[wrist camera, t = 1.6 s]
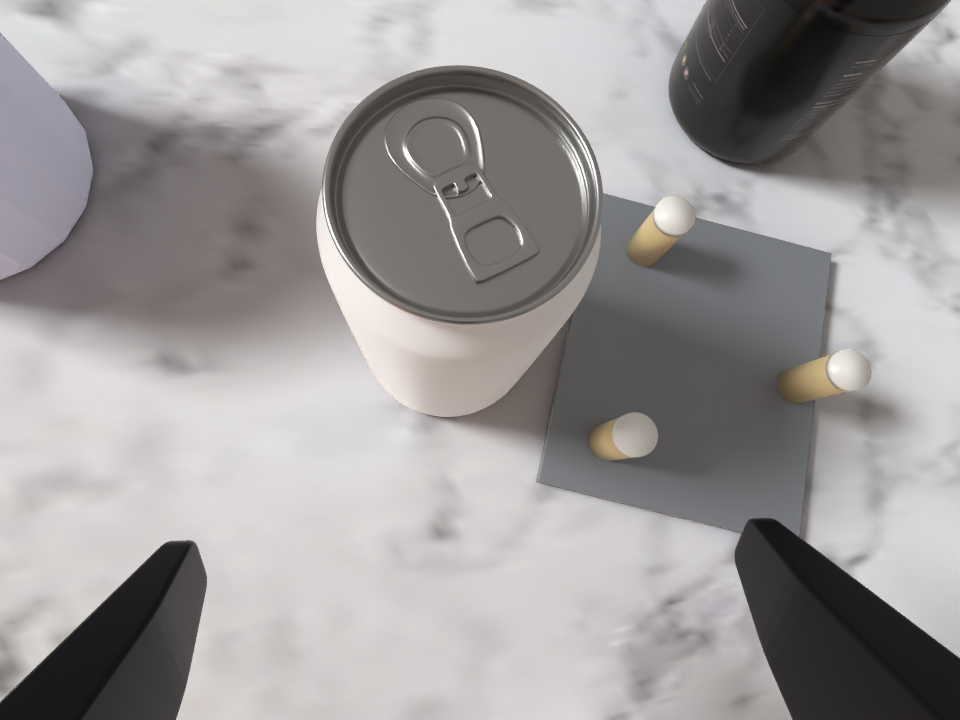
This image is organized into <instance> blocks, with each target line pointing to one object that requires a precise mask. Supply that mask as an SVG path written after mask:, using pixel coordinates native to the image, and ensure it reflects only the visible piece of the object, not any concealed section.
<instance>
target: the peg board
mask: <svg viewBox="0 0 960 720" xmlns="http://www.w3.org/2000/svg"><path fill="white" fill-rule="evenodd" d="M830 262H831V253H828V252H824V251H820V250H816V249H813V248H809V247H805V246H801V245H797V244H794V243H790V242H786V241H782V240H778V239H775V238H771V237H767V236H763V235H759V234H756V233H752V232H748V231H744V230H740V229H737V228H733V227H729V226H725V225H721V224H718V223H714V222H710V221H706V220H702V219H699V218H696V214H695V210H694V208H693V206H692V205H691V203H690V202H689V201H688V200H686V199H685V198H683V197H680V196H675V195H673V196H667V197H665V198H663V199H662V200H661V201H660V202H659V203H658V204H657V206H656V207H653V206H649V205H645V204H642V203H638V202H634V201H630V200H626V199H623V198H619V197H615V196H611V195H607V194H604V193H603V211H602V219H601V241H600V250H599V256H598V260H597V264H596V268H595V271H594V274H593V276H592V279H591V281H590V284H589V286H588V288H587V290H586V292H585V294H584V296H583V298H582V299H581V301H580V303H579V304H578V306H577V307H576V309H575V310H574V312H573V313H572V316H571V321H570V326H569V330H568V335H567V340H566V344H565V349H564V354H563V358H562V363H561V368H560V372H559V377H558V382H557V386H556V391H555V396H554V400H553V405H552V410H551V415H550V419H549V424H548V429H547V433H546V438H545V443H544V447H543V452H542V457H541V461H540V466H539V471H538V475H537V480H536V482H539V483H543V484H547V485H551V486H555V487H559V488H563V489H567V490H571V491H575V492H579V493H583V494H587V495H591V496H595V497H600V498H604V499H608V500H612V501H616V502H620V503H624V504H628V505H632V506H636V507H640V508H644V509H648V510H652V511H656V512H660V513H664V514H668V515H672V516H676V517H680V518H684V519H688V520H693V521H697V522H701V523H705V524H709V525H713V526H717V527H721V528H725V529H729V530H733V531H737V532H741V533H742V531H743V529H744V526H745V524H746V522H747V521H748V520H750V519H752V518H773V519H775V520H777V521H779V522H780V523H782V524H783V525H784V526H786V527H787V528H788V529H789V530H791V531H792V532H793V533H795V534H796V535H797V536H800V528H801V519H802V510H803V501H804V492H805V483H806V474H807V466H808V457H809V448H810V439H811V430H812V421H813V412H814V404H815V399H819V398H824V397H828V396H832V395H836V394H841V393H845V392H852V391H856V390H860V389H862V388H864V387H865V386H867V384H868V383H869V381H870V379H871V367H870V364H869V362H868V360H867V359H866V358H865V356H864V355H862V354H861V353H860V352H858V351H856V350H852V349H844V350H841V351H838V352H835V353H833V354H831V355H828V356H825V357H822V358H820V351H821V342H822V333H823V324H824V315H825V306H826V297H827V289H828V280H829V271H830Z"/></svg>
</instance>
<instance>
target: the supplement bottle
mask: <svg viewBox="0 0 960 720" xmlns="http://www.w3.org/2000/svg"><path fill="white" fill-rule="evenodd" d="M950 1H951V0H707V1H706V3H705V4H704V6H703V8H702V10H701V12H700V14H699V15H698V17H697V19H696V21H695V23H694V25H693V26H692V28H691V30H690V32H689V34H688V36H687V37H686V39H685V41H684V43H683V45H682V47H681V49H680V51H679V53H678V55H677V57H676V59H675V61H674V64H673V66H672V69H671V73H670V78H669V97H670V103H671V106H672V110H673V112H674V115H675V117H676V119H677V121H678V123H679V124H680V126H681V128H682V129H683V130H684V132H685V133H686V134H687V135H688V136H689V137H690V139H691V140H693V141H694V142H695V143H696V144H697V145H698V146H700V147H701V148H702V149H704V150H705V151H707V152H709V153H710V154H712V155H714V156H717V157H719V158H721V159H724V160H727V161H731V162H736V163H743V164H759V163H766V162H771V161H774V160H777V159H780V158H782V157H784V156H787V155H788V154H790V153H792V152H793V151H795V150H796V149H797V148H799V147H800V146H801V145H802V144H803V143H804V142H806V141H807V140H808V139H809V138H810V137H811V136H812V135H813V134H814V133H815V132H816V131H817V130H819V129H820V128H821V127H822V126H823V125H824V124H825V123H826V122H827V121H828V120H829V119H830V118H831V117H832V116H833V115H834V114H835V113H836V112H837V111H838V110H839V109H840V108H841V107H842V106H844V105H845V104H846V103H847V102H848V101H849V100H850V99H851V98H852V97H853V96H854V95H855V94H856V93H857V92H858V91H859V90H860V89H861V88H862V87H863V86H864V85H865V84H866V83H867V82H869V81H870V80H871V79H872V78H873V77H874V76H875V75H876V74H877V73H878V72H879V71H880V70H881V69H882V68H883V67H884V66H885V65H886V64H887V63H888V62H889V61H890V60H891V59H892V58H893V57H895V56H896V55H897V54H898V53H899V52H900V51H901V50H902V49H903V48H904V47H905V46H906V45H907V44H908V43H909V42H910V41H911V40H912V39H913V38H914V37H915V36H916V35H917V34H918V33H920V32H921V31H922V30H923V29H924V28H925V27H926V26H927V25H928V24H929V23H930V22H931V21H932V20H933V19H934V18H935V17H936V16H937V15H938V14H939V13H940V12H941V11H942V10H943V9H944V8H945V7H946V6H947V5H948V4H949V2H950Z"/></svg>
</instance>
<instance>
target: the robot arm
mask: <svg viewBox="0 0 960 720" xmlns="http://www.w3.org/2000/svg"><path fill="white" fill-rule="evenodd" d="M735 564H736V567H737V570H738V574H739V577H740V580H741V583H742V586H743V589H744V592H745V596H746V599H747V602H748V605H749V608H750V611H751V615H752V618H753V621H754V624H755V627H756V630H757V633H758V637H759V640H760V642H761V645H762V648H763V651H764V654H765V656H766V658H767V661H768V663H769V666H770V668H771V671H772V673H773V675H774V677H775V680H776V682H777V684H778V687H779V689H780V691H781V694H782V696H783V698H784V701H785V703H786V705H787V708H788V710H789V712H790V714H791V717H792V719H793V720H960V658H959V657H957V656H956V655H955V654H953V653H952V652H951V651H950V650H948V649H947V648H946V647H944V646H943V645H942V644H940V643H939V642H938V641H936V640H935V639H934V638H932V637H931V636H930V635H928V634H927V633H926V632H924V631H923V630H922V629H920V628H919V627H918V626H916V625H915V624H914V623H912V622H911V621H910V620H909V619H907V618H906V617H905V616H903V615H902V614H901V613H899V612H898V611H897V610H895V609H894V608H893V607H891V606H890V605H889V604H887V603H886V602H885V601H883V600H882V599H881V598H879V597H878V596H877V595H875V594H874V593H873V592H871V591H870V590H869V589H868V588H866V587H865V586H864V585H862V584H861V583H860V582H858V581H857V580H856V579H854V578H853V577H852V576H850V575H849V574H848V573H846V572H845V571H844V570H842V569H841V568H840V567H838V566H837V565H836V564H834V563H833V562H832V561H830V560H829V559H828V558H827V557H825V556H824V555H823V554H821V553H820V552H819V551H817V550H816V549H815V548H813V547H812V546H811V545H809V544H808V543H807V542H805V541H804V540H803V539H801V538H800V537H799V536H797V535H796V534H795V533H793V532H792V531H791V530H789V529H788V528H787V527H786V526H784V525H783V524H782V523H780V522H779V521H777V520H775V519H773V518H752V519H750V520H748V521H747V522H746V524H745V526H744V529H743V531H742V534H741V536H740V539H739V541H738V544H737V546H736V549H735ZM206 587H207V575H206V571H205V568H204V565H203V562H202V559H201V556H200V553H199V550H198V547H197V545H196V543H195V542H193V541H190V540H187V541H170V542H166V543H165V544H163V545H162V546H161V547H160V548H159V549H158V550H157V551H156V552H155V553H154V554H152V555H151V556H150V557H149V558H148V559H147V560H146V561H145V562H144V563H143V564H142V565H141V566H140V567H139V568H138V569H137V570H136V571H135V572H134V573H133V574H132V575H131V576H130V577H129V578H128V579H127V580H126V581H125V582H124V583H123V584H121V585H120V586H119V587H118V588H117V589H116V590H115V591H114V592H113V593H112V594H111V595H110V596H109V597H108V598H107V599H106V600H105V601H104V602H103V603H102V604H101V605H100V606H99V607H98V608H97V609H96V610H95V611H94V612H93V613H92V614H91V615H89V616H88V617H87V618H86V619H85V620H84V621H83V622H82V623H81V624H80V625H79V626H78V627H77V628H76V629H75V630H74V631H73V632H72V633H71V634H70V635H69V636H68V637H67V638H66V639H65V640H64V641H63V642H62V643H61V644H60V645H58V646H57V647H56V648H55V649H54V650H53V651H52V652H51V653H50V654H49V655H48V656H47V657H46V658H45V659H44V660H43V661H42V662H41V663H40V664H39V665H38V666H37V667H36V668H35V669H34V670H33V671H32V672H31V673H30V674H29V675H27V676H26V677H25V678H24V679H23V680H22V681H21V682H20V683H19V684H18V685H17V686H16V687H15V688H14V689H13V690H12V691H11V692H10V693H9V694H8V695H7V696H6V697H5V698H4V699H3V700H2V701H1V702H0V720H176V718H177V715H178V712H179V708H180V705H181V702H182V699H183V695H184V692H185V688H186V684H187V680H188V676H189V671H190V666H191V662H192V657H193V652H194V647H195V642H196V637H197V632H198V627H199V622H200V617H201V612H202V607H203V602H204V597H205V592H206Z"/></svg>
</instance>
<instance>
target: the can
mask: <svg viewBox="0 0 960 720" xmlns="http://www.w3.org/2000/svg"><path fill="white" fill-rule="evenodd" d="M602 211H603V189H602V181H601V176H600V171H599V167H598V164H597V161H596V158H595V155H594V153H593V150H592V148H591V146H590V144H589V142H588V140H587V138H586V137H585V135H584V133H583V132H582V130H581V129H580V127H579V126H578V125H577V123H576V122H575V121H574V120H573V118H572V117H571V116H570V115H569V114H568V113H567V112H566V111H565V110H564V108H562V107H561V106H560V105H559V104H558V103H557V102H556V101H555V100H554V99H552V98H551V97H550V96H548V95H547V94H546V93H544V92H543V91H541V90H540V89H538V88H536V87H535V86H533V85H531V84H529V83H528V82H526V81H523V80H521V79H519V78H517V77H514V76H512V75H509V74H506V73H503V72H500V71H496V70H492V69H487V68H482V67H475V66H459V65H456V66H440V67H433V68H427V69H423V70H419V71H415V72H412V73H409V74H406V75H404V76H401V77H399V78H397V79H394V80H392V81H390V82H389V83H387V84H385V85H383V86H382V87H380V88H378V89H377V90H376V91H374V92H373V93H371V94H370V95H369V96H368V97H366V98H365V99H364V100H363V101H362V102H361V103H360V104H359V105H358V106H357V107H356V108H355V109H354V110H353V111H352V112H351V113H350V115H349V116H348V117H347V118H346V120H345V121H344V123H343V124H342V125H341V127H340V129H339V130H338V132H337V134H336V136H335V138H334V140H333V142H332V144H331V147H330V149H329V152H328V155H327V159H326V163H325V167H324V173H323V182H322V188H321V192H320V196H319V201H318V207H317V217H316V230H317V241H318V247H319V252H320V257H321V261H322V265H323V268H324V271H325V273H326V276H327V279H328V281H329V284H330V286H331V289H332V291H333V293H334V295H335V297H336V300H337V302H338V304H339V306H340V308H341V310H342V313H343V315H344V317H345V319H346V321H347V323H348V325H349V327H350V329H351V331H352V333H353V335H354V338H355V340H356V342H357V344H358V346H359V348H360V350H361V352H362V354H363V356H364V358H365V360H366V362H367V364H368V366H369V367H370V369H371V371H372V373H373V374H374V376H375V378H376V379H377V381H378V382H379V383H380V385H381V386H382V387H383V388H384V389H385V390H386V391H387V392H388V393H389V394H390V395H391V396H392V397H393V398H395V399H396V400H397V401H399V402H400V403H402V404H403V405H405V406H407V407H409V408H411V409H413V410H415V411H418V412H421V413H424V414H428V415H432V416H440V417H455V416H462V415H467V414H471V413H474V412H477V411H480V410H482V409H484V408H486V407H488V406H490V405H492V404H493V403H495V402H496V401H498V400H499V399H500V398H502V397H503V396H504V395H505V394H506V393H507V392H508V391H509V390H510V389H511V388H512V387H513V386H514V385H515V384H516V383H517V381H518V380H519V379H520V378H521V377H522V375H523V374H524V373H525V372H526V371H527V369H528V368H529V367H530V366H531V365H532V363H533V362H534V361H535V360H536V359H537V357H538V356H539V355H540V354H541V352H542V351H543V350H544V349H545V348H546V346H547V345H548V344H549V343H550V341H551V340H552V339H553V338H554V336H555V335H556V334H557V333H558V331H559V330H560V329H561V328H562V326H563V325H564V324H565V322H566V321H567V320H568V318H569V317H570V316H571V314H572V313H573V312H574V310H575V309H576V307H577V306H578V304H579V303H580V301H581V299H582V298H583V296H584V294H585V292H586V290H587V288H588V286H589V284H590V281H591V279H592V276H593V274H594V271H595V268H596V264H597V260H598V256H599V250H600V241H601V219H602Z"/></svg>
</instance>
